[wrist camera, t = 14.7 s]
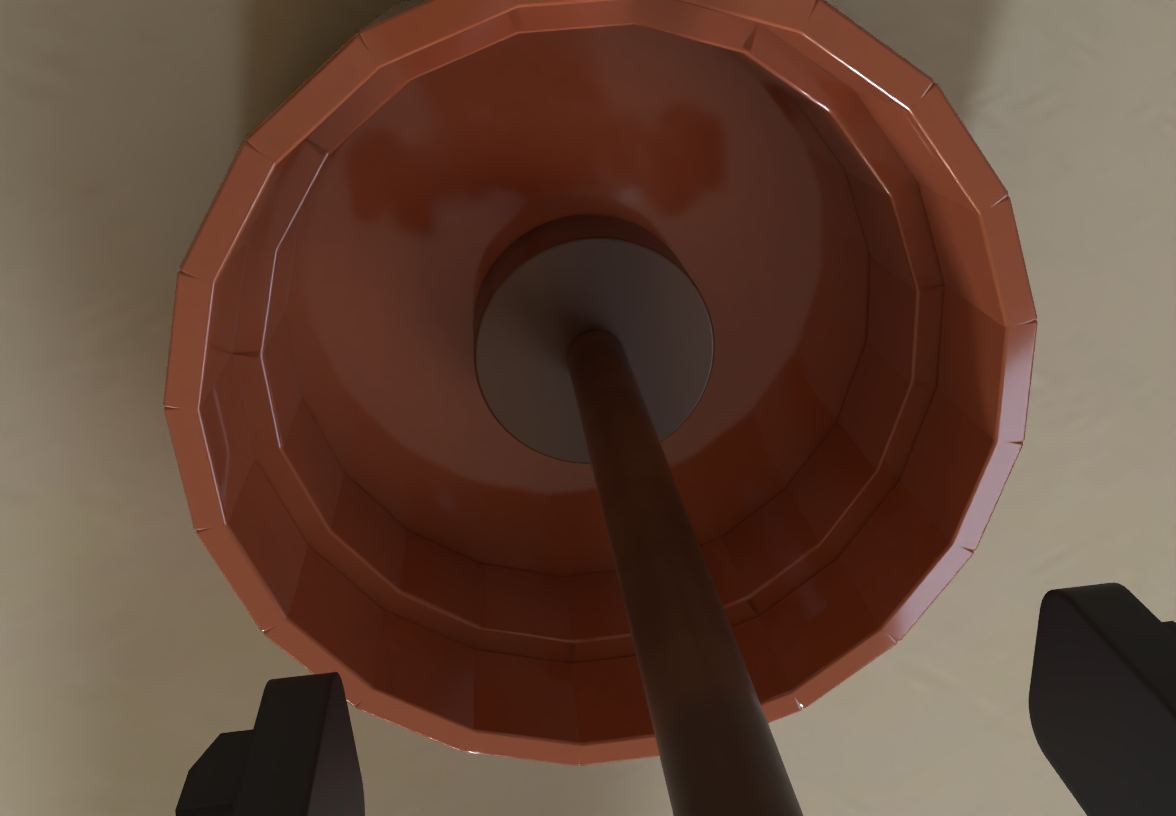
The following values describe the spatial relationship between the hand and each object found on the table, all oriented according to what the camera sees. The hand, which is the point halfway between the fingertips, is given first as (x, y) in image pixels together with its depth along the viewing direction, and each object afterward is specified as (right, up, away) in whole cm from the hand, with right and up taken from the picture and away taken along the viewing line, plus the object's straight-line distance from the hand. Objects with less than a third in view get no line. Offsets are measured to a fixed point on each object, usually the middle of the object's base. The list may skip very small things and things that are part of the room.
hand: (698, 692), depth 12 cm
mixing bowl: (-1, +5, +12) cm, 13 cm away
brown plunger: (-1, +5, +12) cm, 13 cm away
